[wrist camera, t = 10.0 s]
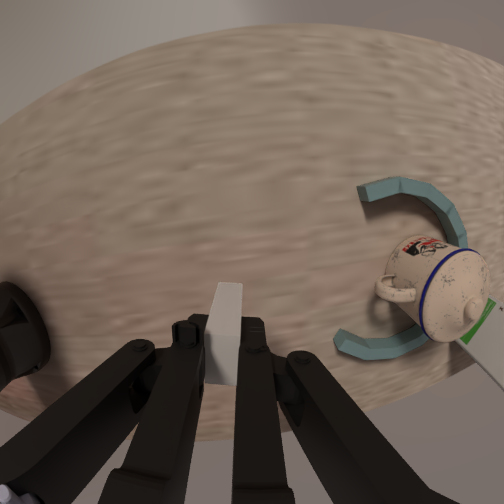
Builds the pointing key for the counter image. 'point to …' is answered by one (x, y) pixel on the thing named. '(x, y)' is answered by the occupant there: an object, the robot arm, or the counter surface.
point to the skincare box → (487, 341)
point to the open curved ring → (455, 236)
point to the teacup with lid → (436, 286)
